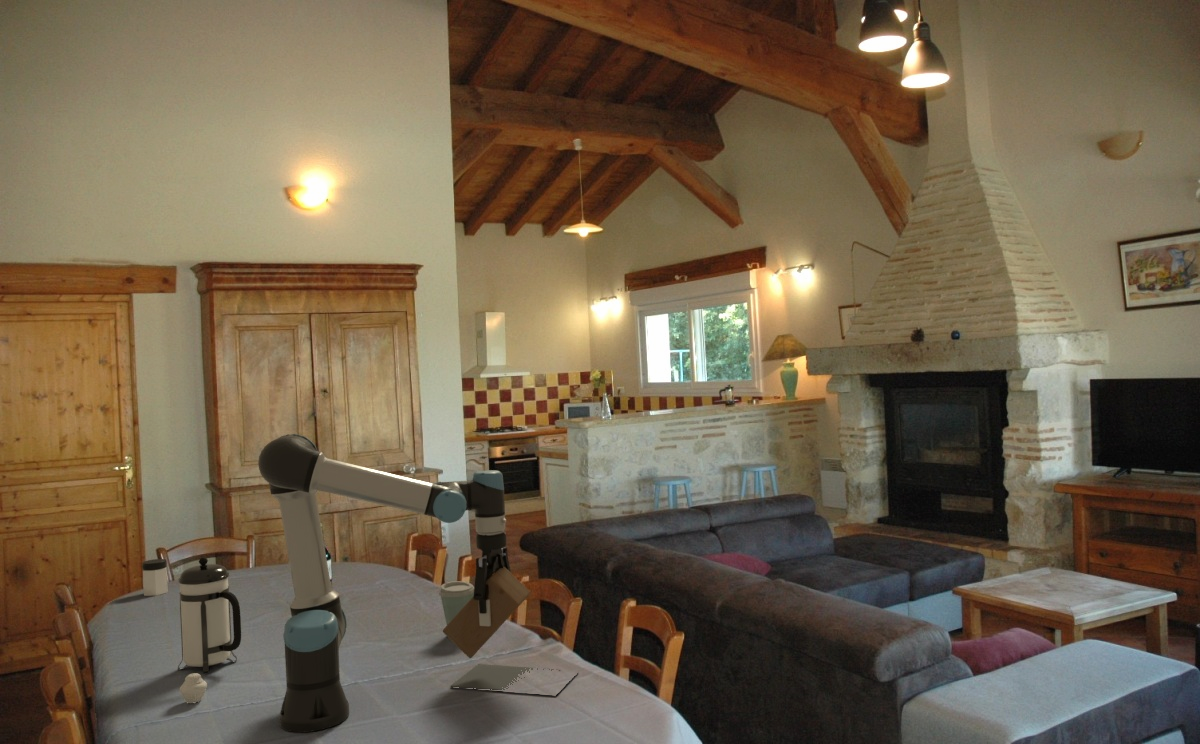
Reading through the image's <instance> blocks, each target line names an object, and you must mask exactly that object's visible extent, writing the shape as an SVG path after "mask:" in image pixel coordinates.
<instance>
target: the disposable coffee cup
mask: <svg viewBox="0 0 1200 744" xmlns="http://www.w3.org/2000/svg"><path fill="white" fill-rule="evenodd" d="M474 587H475V585H474V584H472V583H471V582H468V581H461V580H459V581H458V580H456V581H455V580H454V581H448V582H445V583H442V584H441V585H440V589H439V590H438V594H439V596H440V600H441V604H442V610H443V613H444V618H445V623H446V626H447V625H448V624H449V623H450V621H451V620H452V619H453V618H454V617H455V616H456V615H457V614H458V613H459V611H460V610H461V609H462V608H463V607H464V606H465V605H466V604H467V603H468V601H469V600H470V599H471V598H472V597H473V596H474Z"/></svg>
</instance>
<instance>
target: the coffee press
mask: <svg viewBox="0 0 1200 744" xmlns="http://www.w3.org/2000/svg"><path fill="white" fill-rule="evenodd" d="M208 562H209V560H208V558H207V557H204V556H202V557H200V558H199V560H198V564H199V565H196V566H192V567H188V568H186V569H184V570H183V571H182V572H181V574H180V576H179V577H178V580H177V581H178V584H179V588H180V589H179V590H180V591H179V612H180V616H179V617H180V632H181V633H180V636H181V637H180V638H181V639H180V640H181V656H182V657H181V661H180V662H179V664H178V666H177V669H178V670H179V669H180V668H181V667H180V665H181V664H182V663H185V665H184V666H182V668H183V670H184V669H186V667H188V666H190V667H195V668H197V667H198V668H201V667H202V674H203V673H206V674H209V673H208V671H209V670H210V666H214V665H218V664H220V663H222V662H225V661H229V662H231V663H232V662H233V661H235V663H236V662H237V660H238V657H237V656H236V655H235V653H234V652H233V651H234V650H237V649H238V648H239V647H240V645H241V641H242V619H241V608H240V602H239V600H238V598H237V597H236V595H235V594H234V593H232V592H231V591H230V585H229V577H230V572H229V571H228V569H227V568H226V567H225V566H223V565H222V564H215V563H211V564H208ZM231 609H232V616H231ZM231 617H232V618H231ZM231 619H232V620H231ZM232 626H233V627H232ZM232 629H233V640H232V637H231V636H232ZM231 655H232V656H233V657H234V658H235V660H232V659H231V658H230V656H231ZM209 672H210V671H209Z"/></svg>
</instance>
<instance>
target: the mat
mask: <svg viewBox="0 0 1200 744" xmlns="http://www.w3.org/2000/svg"><path fill="white" fill-rule="evenodd" d="M525 668H526V669H525ZM530 668H531V670H533V668H534V667H527V666H526V667H525V666H513V665H501V664H500V665H498V664H487V663H486V664H484V663H478V664H477V665H475V666H474V667H473V668H472V669H469V671H467V672H466V673H465V674H463V675H462V676H461V677H460V678H458V679H457V680H456V681H454V682H453V683H452V684H451V685H450V686H449V687H459V688H473V689H474V688H476V689H490V690H491V689H492V690H502V689H503V690H505V689H504V688H506V687H508V686H509V683H510V685H511V684H512V683H514V682H513V681H515V682H517V681H516V680H517V677H519V676H518V674H520V675H522V672H523V674H524V673H525V671H526V670H527V672H528V671H529V669H530ZM536 668H537V670H538V668H539V667H536ZM544 669H545V668H543V670H544ZM548 669H549V670H550V669H551V671H552V670H554V669H555V668H548ZM521 670H522V671H521ZM556 670H558V669H556ZM529 673H530V671H529ZM514 678H515V679H516V680H515V679H514ZM519 678H520V677H519ZM524 678H525V677H524ZM521 679H522V678H521ZM512 680H513V681H512ZM518 681H519V680H518ZM511 682H512V683H511ZM507 685H508V686H507ZM512 685H513V684H512ZM502 687H503V688H502ZM508 688H509V687H508ZM508 688H506V689H508Z"/></svg>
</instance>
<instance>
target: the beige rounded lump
mask: <svg viewBox="0 0 1200 744" xmlns="http://www.w3.org/2000/svg"><path fill="white" fill-rule="evenodd" d="M184 678H185V679H184V681H183V683H182V685H181V686H180V688H179V692H180V694H181V696H182V698H183V699H184V701H185V702H186V703H187V702H188V703H193V702H197V701H200V700H201V701H202V700H203V698H204V697H205V693H206V691H207V688H208V683H207V682H206V681H205V680H204V679H203V678H202V675H201V674H200V673H195V672H194V673H193V672H192V673H190V674H187V676H186V677H184ZM201 701H200V702H201ZM188 703H187V704H188Z"/></svg>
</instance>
